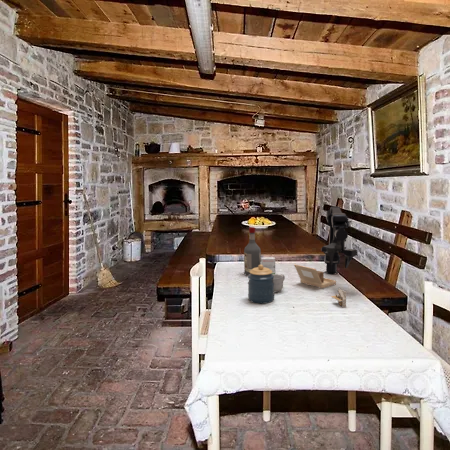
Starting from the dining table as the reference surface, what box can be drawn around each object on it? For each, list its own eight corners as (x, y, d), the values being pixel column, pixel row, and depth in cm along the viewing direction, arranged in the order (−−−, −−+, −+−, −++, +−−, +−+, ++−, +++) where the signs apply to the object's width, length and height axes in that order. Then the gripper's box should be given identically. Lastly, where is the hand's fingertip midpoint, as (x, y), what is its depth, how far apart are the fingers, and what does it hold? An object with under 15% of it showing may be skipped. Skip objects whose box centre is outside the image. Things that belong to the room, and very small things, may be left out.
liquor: (256, 272, 221) (255, 226, 217) (262, 275, 212) (261, 228, 209) (243, 273, 218) (242, 227, 215) (248, 277, 209) (248, 228, 206)
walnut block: (317, 280, 196) (317, 270, 195) (323, 282, 193) (323, 272, 192) (313, 282, 194) (313, 271, 193) (319, 283, 190) (319, 273, 190)
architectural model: (339, 308, 155) (340, 292, 154) (330, 303, 161) (331, 288, 160) (346, 307, 156) (346, 292, 155) (337, 302, 162) (337, 287, 161)
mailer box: (313, 278, 203) (313, 275, 202) (336, 284, 190) (336, 280, 190) (300, 282, 196) (300, 279, 195) (322, 288, 183) (322, 284, 183)
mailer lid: (294, 264, 191) (294, 264, 191) (315, 268, 179) (315, 269, 179) (300, 278, 195) (300, 278, 195) (322, 283, 183) (321, 284, 183)
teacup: (270, 295, 175) (270, 279, 174) (259, 289, 184) (258, 275, 183) (292, 290, 181) (292, 276, 180) (279, 285, 191) (279, 271, 190)
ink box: (275, 275, 212) (274, 257, 210) (275, 277, 207) (275, 258, 205) (261, 275, 212) (260, 257, 211) (261, 277, 207) (261, 258, 206)
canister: (256, 305, 160) (255, 268, 158) (243, 297, 172) (243, 263, 170) (279, 301, 165) (279, 265, 163) (265, 293, 177) (265, 260, 175)
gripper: (315, 237, 182) (314, 265, 184) (345, 241, 168) (345, 272, 169) (327, 235, 189) (327, 262, 191) (358, 239, 174) (357, 268, 176)
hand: (338, 266), depth 182 cm, fingers open, 9 cm apart
